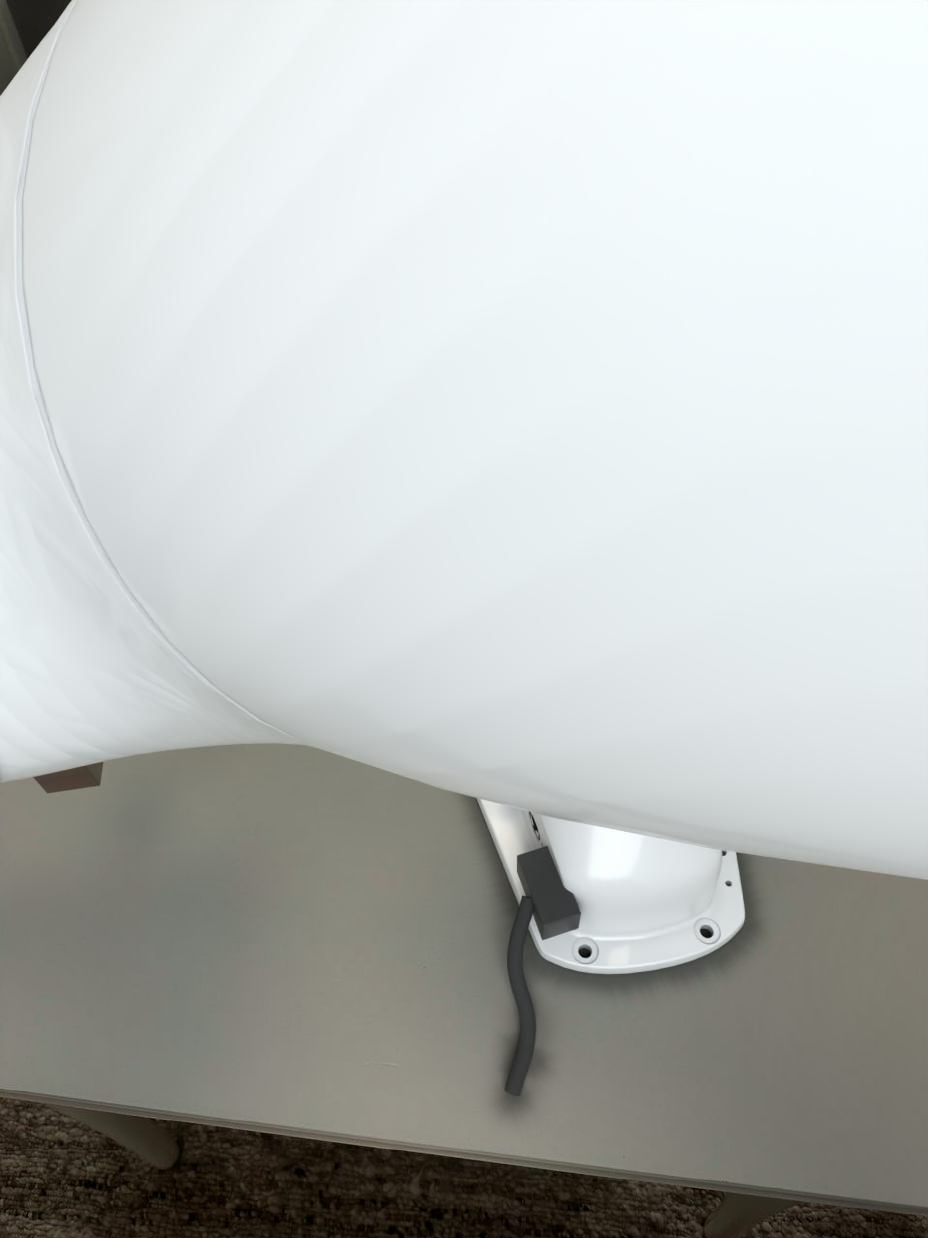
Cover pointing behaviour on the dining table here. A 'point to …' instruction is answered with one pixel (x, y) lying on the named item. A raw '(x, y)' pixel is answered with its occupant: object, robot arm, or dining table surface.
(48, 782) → the stick
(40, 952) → the dining table surface
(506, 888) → the dining table surface
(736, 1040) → the dining table surface
